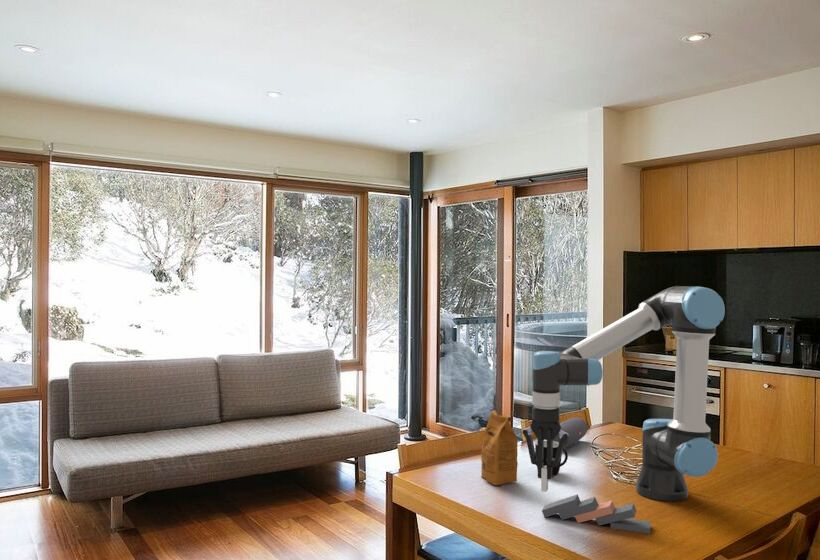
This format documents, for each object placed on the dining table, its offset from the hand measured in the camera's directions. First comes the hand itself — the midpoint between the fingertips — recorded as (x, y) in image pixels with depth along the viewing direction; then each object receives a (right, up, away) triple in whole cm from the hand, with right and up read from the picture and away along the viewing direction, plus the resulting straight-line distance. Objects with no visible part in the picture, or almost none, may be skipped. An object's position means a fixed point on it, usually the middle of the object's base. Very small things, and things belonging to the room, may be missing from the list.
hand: (544, 490), depth 181 cm
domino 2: (+4, -6, -2) cm, 8 cm away
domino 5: (+17, -7, -7) cm, 19 cm away
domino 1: (0, -6, 0) cm, 6 cm away
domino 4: (+14, -6, -6) cm, 16 cm away
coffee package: (-9, -7, +30) cm, 32 cm away
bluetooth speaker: (+25, -7, +75) cm, 79 cm away
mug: (+11, -7, +39) cm, 41 cm away
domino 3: (+8, -6, -3) cm, 11 cm away
